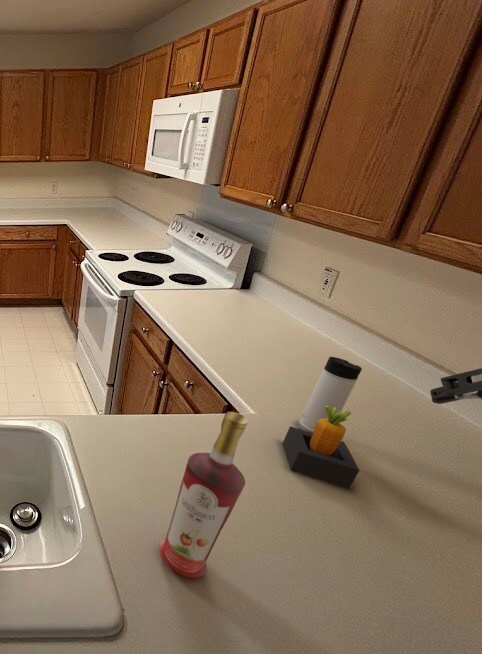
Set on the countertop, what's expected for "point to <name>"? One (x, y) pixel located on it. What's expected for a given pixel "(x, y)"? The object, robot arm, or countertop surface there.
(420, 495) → the countertop surface
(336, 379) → the travel mug
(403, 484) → the countertop surface
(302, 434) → the socket pad
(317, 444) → the carrot
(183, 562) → the liquor
